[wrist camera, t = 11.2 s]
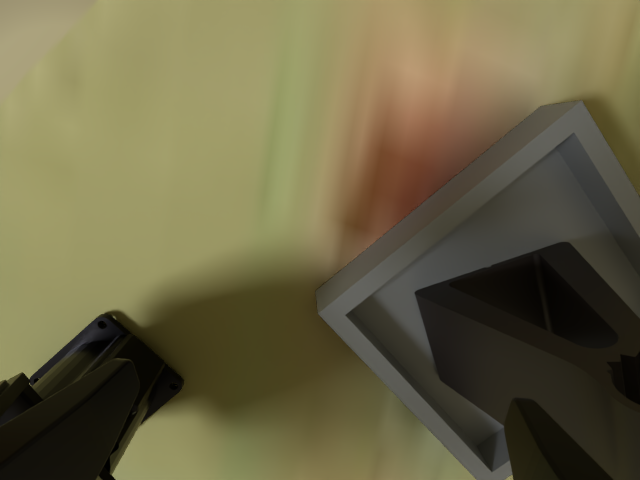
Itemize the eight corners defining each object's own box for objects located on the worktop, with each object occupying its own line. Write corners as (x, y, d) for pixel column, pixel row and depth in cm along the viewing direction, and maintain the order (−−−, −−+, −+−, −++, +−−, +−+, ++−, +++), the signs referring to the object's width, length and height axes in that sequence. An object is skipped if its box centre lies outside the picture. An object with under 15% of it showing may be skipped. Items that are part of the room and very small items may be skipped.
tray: (466, 451, 26) (487, 491, 23) (315, 291, 22) (317, 313, 19) (669, 309, 24) (721, 332, 21) (540, 106, 20) (581, 100, 17)
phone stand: (436, 376, 23) (578, 617, 11) (412, 290, 21) (547, 468, 10) (579, 330, 23) (872, 530, 11) (564, 240, 21) (890, 362, 9)
